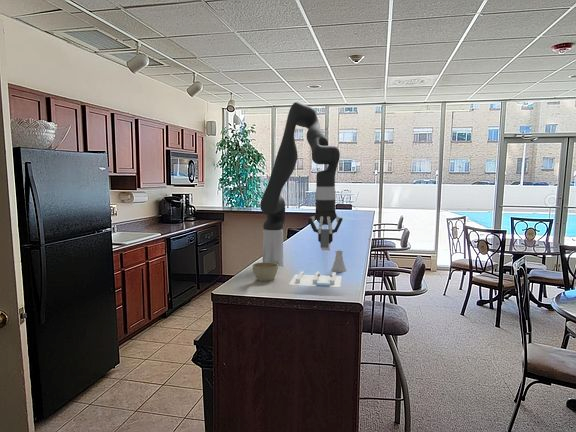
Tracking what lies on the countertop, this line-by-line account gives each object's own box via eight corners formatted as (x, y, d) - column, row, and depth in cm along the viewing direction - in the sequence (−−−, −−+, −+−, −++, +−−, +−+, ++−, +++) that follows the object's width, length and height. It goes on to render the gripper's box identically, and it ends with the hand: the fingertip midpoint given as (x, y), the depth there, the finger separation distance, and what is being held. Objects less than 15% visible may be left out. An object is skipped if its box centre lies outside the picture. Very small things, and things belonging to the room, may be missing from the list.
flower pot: (268, 287, 149) (268, 268, 148) (247, 283, 154) (247, 265, 153) (282, 281, 157) (282, 263, 156) (262, 278, 162) (262, 261, 162)
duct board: (288, 288, 147) (288, 279, 146) (295, 277, 163) (295, 269, 162) (340, 291, 144) (340, 281, 143) (341, 279, 159) (341, 271, 159)
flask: (336, 276, 165) (336, 253, 164) (327, 272, 171) (327, 250, 170) (350, 274, 168) (351, 251, 167) (340, 271, 174) (341, 248, 173)
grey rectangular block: (320, 247, 148) (321, 229, 150) (322, 250, 157) (322, 233, 158) (328, 247, 148) (328, 229, 149) (329, 251, 156) (330, 233, 158)
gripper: (344, 198, 153) (343, 242, 155) (308, 197, 156) (308, 241, 157) (343, 199, 146) (343, 245, 148) (306, 199, 148) (306, 244, 150)
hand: (325, 242), depth 153 cm, fingers closed on grey rectangular block, 2 cm apart
